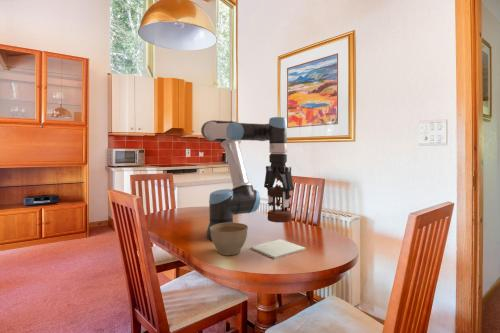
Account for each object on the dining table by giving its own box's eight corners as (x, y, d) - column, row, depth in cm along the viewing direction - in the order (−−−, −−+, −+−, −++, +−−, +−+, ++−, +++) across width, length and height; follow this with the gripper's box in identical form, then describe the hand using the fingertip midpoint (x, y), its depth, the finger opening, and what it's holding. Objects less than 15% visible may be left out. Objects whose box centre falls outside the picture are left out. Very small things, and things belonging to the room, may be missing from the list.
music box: (280, 215, 139) (283, 172, 137) (298, 221, 131) (302, 176, 129) (256, 220, 129) (259, 174, 127) (274, 227, 121) (278, 178, 119)
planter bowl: (232, 243, 139) (232, 220, 138) (255, 252, 127) (255, 227, 126) (202, 251, 128) (202, 226, 128) (225, 261, 116) (225, 234, 116)
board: (250, 248, 132) (250, 246, 132) (280, 240, 143) (280, 239, 143) (274, 258, 119) (274, 256, 119) (305, 249, 130) (305, 247, 130)
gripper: (255, 153, 135) (256, 203, 136) (289, 153, 118) (289, 210, 119) (268, 153, 140) (268, 201, 141) (302, 153, 122) (302, 208, 123)
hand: (278, 205), depth 130 cm, fingers closed on music box, 9 cm apart
